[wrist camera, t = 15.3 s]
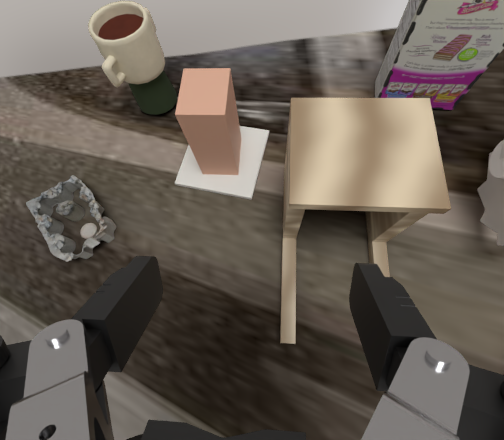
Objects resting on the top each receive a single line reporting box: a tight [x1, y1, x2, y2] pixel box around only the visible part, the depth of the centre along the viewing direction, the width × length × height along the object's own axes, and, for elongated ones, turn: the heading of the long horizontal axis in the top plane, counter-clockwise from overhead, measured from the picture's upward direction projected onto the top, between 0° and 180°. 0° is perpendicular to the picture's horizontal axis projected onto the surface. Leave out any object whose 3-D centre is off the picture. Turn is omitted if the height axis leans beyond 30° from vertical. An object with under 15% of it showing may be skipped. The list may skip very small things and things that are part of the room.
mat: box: [175, 126, 269, 200], centre depth 40 cm, size 11×11×1 cm
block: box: [175, 68, 242, 175], centre depth 34 cm, size 5×6×12 cm
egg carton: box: [26, 176, 116, 261], centre depth 37 cm, size 11×8×4 cm
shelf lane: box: [280, 98, 451, 344], centre depth 28 cm, size 12×22×14 cm, turn 177°
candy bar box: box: [375, 0, 504, 110], centre depth 34 cm, size 11×5×16 cm, turn 83°
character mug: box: [88, 1, 177, 115], centre depth 38 cm, size 11×7×13 cm, turn 159°
